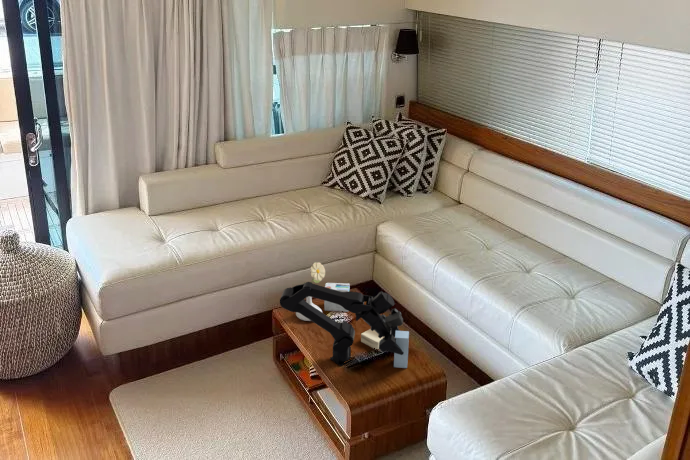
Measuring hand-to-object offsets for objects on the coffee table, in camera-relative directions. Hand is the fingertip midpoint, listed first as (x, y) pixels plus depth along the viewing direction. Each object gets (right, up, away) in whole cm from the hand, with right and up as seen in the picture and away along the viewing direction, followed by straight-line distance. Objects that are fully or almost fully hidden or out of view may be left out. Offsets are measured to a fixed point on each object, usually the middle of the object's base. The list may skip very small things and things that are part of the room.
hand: (403, 347), depth 254 cm
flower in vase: (-36, +7, +35) cm, 51 cm away
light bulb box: (-25, +10, +42) cm, 50 cm away
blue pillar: (-1, -7, +3) cm, 8 cm away
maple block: (-9, -1, +17) cm, 20 cm away
